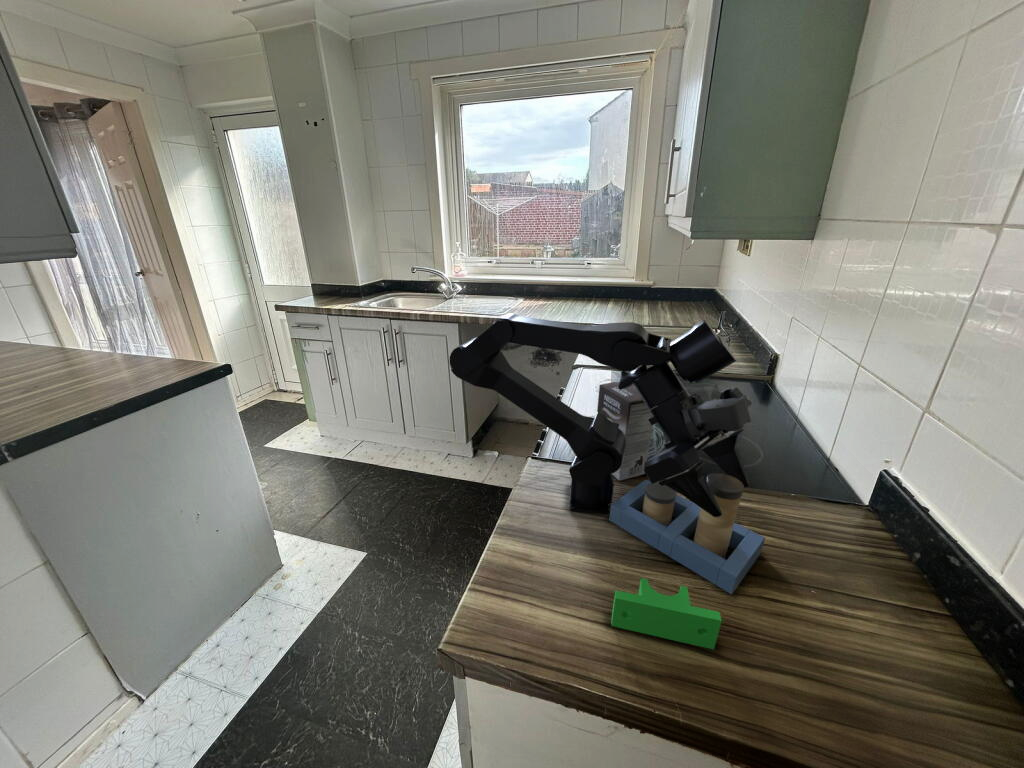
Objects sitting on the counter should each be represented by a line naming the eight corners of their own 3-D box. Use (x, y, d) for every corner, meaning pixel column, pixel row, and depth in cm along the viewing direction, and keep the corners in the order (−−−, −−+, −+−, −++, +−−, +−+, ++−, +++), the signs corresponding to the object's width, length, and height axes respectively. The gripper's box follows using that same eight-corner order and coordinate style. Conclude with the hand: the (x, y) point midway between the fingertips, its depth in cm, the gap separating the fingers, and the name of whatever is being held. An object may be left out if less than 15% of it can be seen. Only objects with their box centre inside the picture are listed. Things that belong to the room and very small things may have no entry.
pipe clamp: (707, 620, 48) (715, 592, 46) (713, 650, 45) (722, 621, 43) (611, 599, 51) (615, 571, 49) (610, 626, 47) (615, 597, 46)
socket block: (608, 520, 64) (610, 504, 63) (643, 493, 71) (645, 479, 70) (731, 594, 51) (736, 577, 50) (760, 553, 58) (765, 537, 57)
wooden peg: (696, 561, 56) (712, 490, 52) (688, 538, 61) (702, 471, 56) (730, 565, 56) (749, 494, 51) (720, 542, 60) (736, 474, 56)
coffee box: (591, 457, 82) (597, 383, 76) (617, 451, 84) (625, 379, 78) (619, 482, 74) (628, 402, 68) (646, 474, 76) (658, 396, 70)
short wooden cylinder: (642, 530, 62) (648, 498, 60) (638, 511, 66) (643, 480, 64) (673, 533, 62) (679, 501, 59) (667, 514, 66) (672, 483, 64)
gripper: (680, 391, 45) (766, 519, 42) (743, 358, 57) (814, 455, 53) (615, 428, 54) (681, 538, 50) (681, 393, 65) (739, 480, 62)
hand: (733, 500), depth 54 cm, fingers open, 9 cm apart
